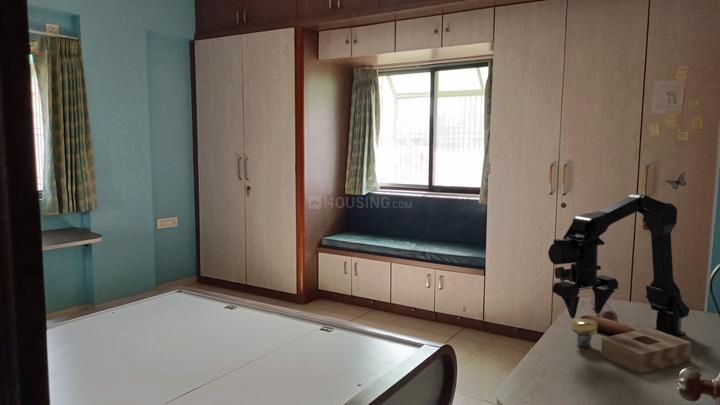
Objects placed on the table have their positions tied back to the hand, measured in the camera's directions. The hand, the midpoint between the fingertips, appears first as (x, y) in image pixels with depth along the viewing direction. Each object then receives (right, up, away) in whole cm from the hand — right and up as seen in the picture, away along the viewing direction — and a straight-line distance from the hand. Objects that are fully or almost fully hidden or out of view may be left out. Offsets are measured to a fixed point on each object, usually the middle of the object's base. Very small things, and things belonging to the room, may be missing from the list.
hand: (585, 315), depth 142 cm
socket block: (+12, -10, -8) cm, 18 cm away
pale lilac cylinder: (+18, -6, +26) cm, 32 cm away
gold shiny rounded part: (0, -9, +1) cm, 9 cm away
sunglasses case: (+13, -8, +12) cm, 20 cm away
